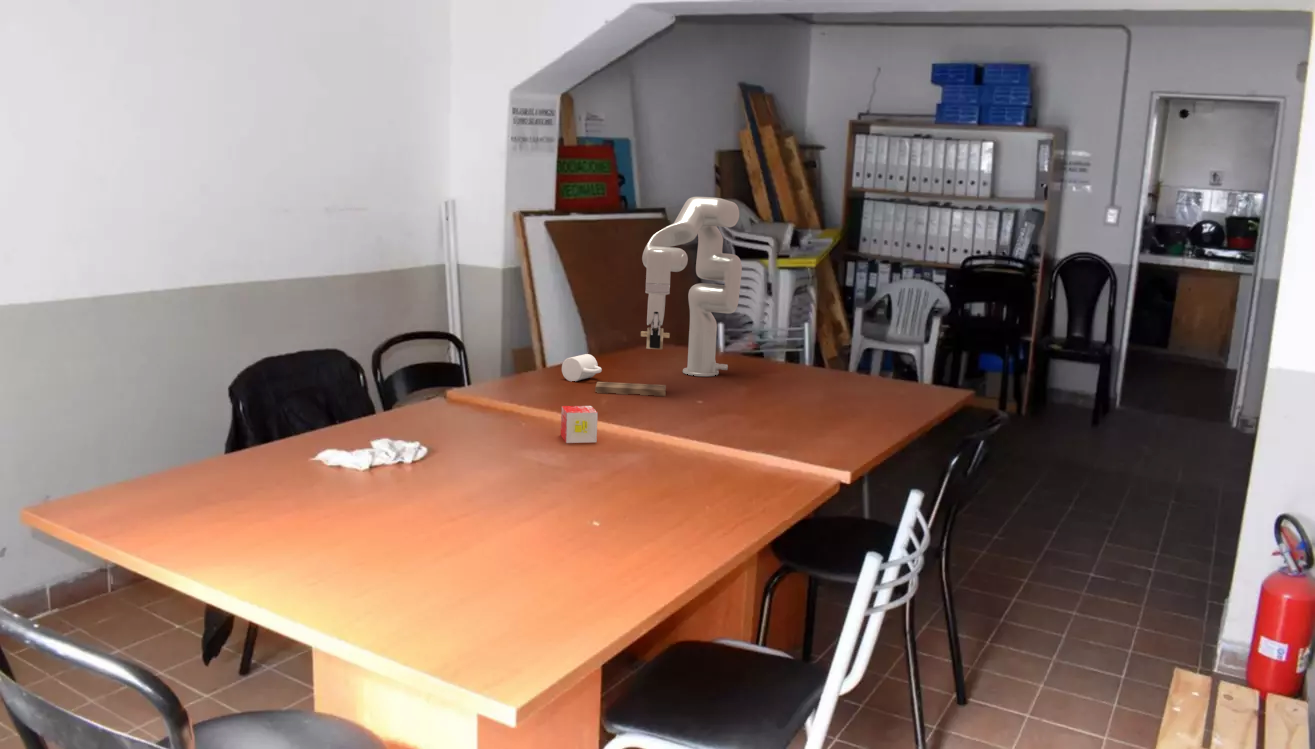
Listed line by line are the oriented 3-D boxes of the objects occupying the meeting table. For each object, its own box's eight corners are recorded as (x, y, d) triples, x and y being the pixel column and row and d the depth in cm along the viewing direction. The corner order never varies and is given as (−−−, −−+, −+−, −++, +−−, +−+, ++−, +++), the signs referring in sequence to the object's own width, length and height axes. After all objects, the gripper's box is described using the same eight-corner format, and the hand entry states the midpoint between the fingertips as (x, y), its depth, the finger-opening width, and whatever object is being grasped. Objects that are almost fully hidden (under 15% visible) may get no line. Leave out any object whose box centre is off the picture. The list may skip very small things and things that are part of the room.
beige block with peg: (668, 347, 342) (670, 326, 341) (668, 349, 338) (669, 328, 337) (640, 346, 342) (641, 324, 341) (640, 348, 338) (641, 326, 337)
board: (665, 391, 347) (665, 384, 346) (665, 396, 339) (665, 389, 338) (597, 387, 347) (597, 381, 346) (595, 392, 339) (595, 386, 338)
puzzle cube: (566, 443, 276) (567, 412, 275) (560, 435, 284) (561, 406, 282) (596, 442, 278) (597, 412, 277) (590, 435, 286) (591, 405, 284)
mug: (560, 380, 357) (561, 356, 356) (577, 375, 366) (578, 352, 364) (591, 385, 351) (592, 360, 350) (607, 380, 360) (608, 357, 359)
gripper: (646, 285, 345) (643, 342, 348) (644, 290, 328) (642, 350, 332) (669, 286, 345) (666, 343, 348) (669, 292, 328) (666, 351, 332)
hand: (654, 346), depth 340 cm, fingers closed on beige block with peg, 4 cm apart
